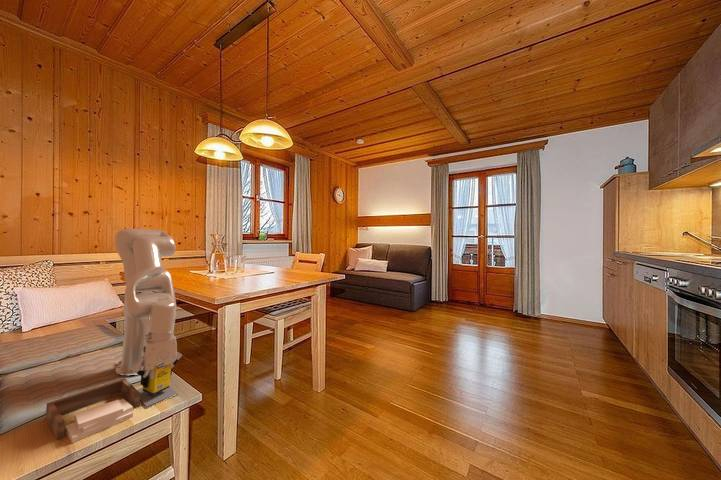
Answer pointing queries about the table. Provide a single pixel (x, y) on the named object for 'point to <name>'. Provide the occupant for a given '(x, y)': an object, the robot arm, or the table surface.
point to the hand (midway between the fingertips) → (156, 381)
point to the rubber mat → (155, 396)
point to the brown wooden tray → (88, 402)
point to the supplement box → (158, 379)
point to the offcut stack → (98, 419)
